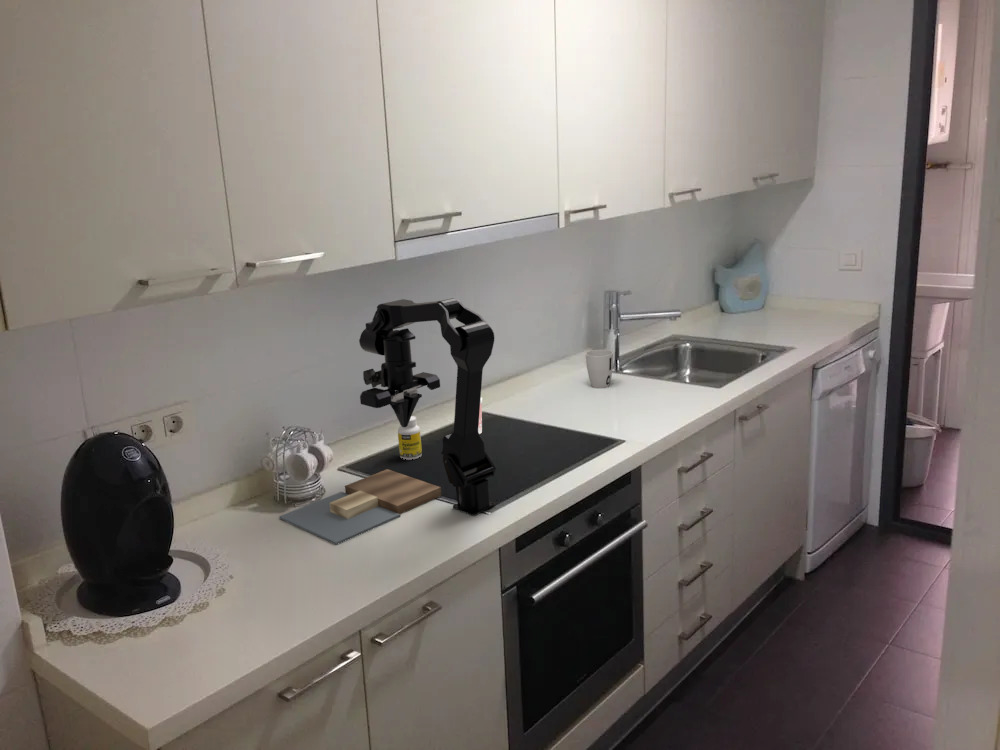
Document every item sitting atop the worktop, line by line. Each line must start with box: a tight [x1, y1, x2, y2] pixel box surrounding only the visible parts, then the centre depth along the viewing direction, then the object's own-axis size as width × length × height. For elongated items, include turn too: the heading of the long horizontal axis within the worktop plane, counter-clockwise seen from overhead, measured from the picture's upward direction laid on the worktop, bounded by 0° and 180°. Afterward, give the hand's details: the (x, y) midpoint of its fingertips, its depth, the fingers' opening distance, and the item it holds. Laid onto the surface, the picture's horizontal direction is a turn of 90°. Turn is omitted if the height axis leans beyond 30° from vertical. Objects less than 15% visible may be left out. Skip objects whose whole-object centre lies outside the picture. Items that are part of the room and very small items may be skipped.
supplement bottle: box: [397, 415, 423, 461], centre depth 216 cm, size 5×5×10 cm
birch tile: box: [329, 491, 379, 519], centre depth 187 cm, size 6×8×2 cm
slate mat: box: [278, 491, 401, 546], centre depth 185 cm, size 20×16×1 cm
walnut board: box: [344, 468, 442, 515], centre depth 195 cm, size 18×12×2 cm, turn 46°
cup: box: [585, 349, 614, 389], centre depth 264 cm, size 8×8×10 cm
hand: (404, 426), depth 198 cm, fingers closed
